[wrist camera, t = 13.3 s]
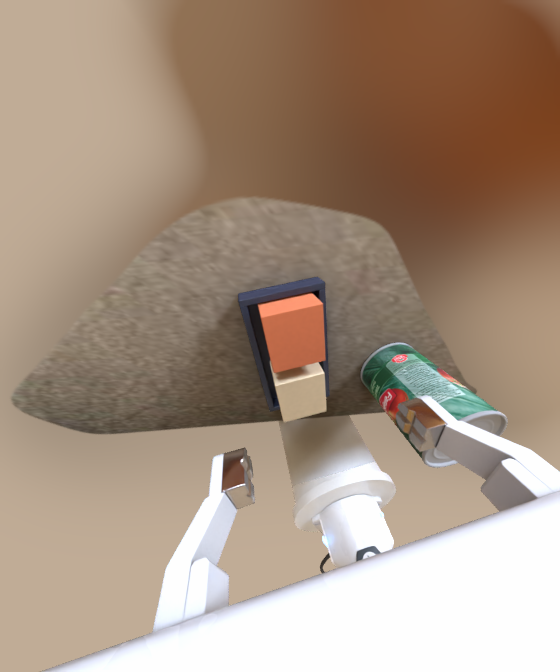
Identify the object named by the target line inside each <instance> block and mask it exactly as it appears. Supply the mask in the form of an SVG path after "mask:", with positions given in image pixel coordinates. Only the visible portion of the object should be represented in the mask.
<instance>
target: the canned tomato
mask: <svg viewBox="0 0 560 672" xmlns="http://www.w3.org/2000/svg"><path fill="white" fill-rule="evenodd" d="M361 381H362V382H363V384H364V385H365V386H366V387H367V388H368V390H369V391H370V393H371V394H372V395H373V396H374V398H375V399H376V400H377V401H378V403H379V404H380V405H381V407H382V408H383V409H384V410H385V412H386V413H387V414H388V416H389V417H390V418H391V420H393V422H394V423H395V425H396V426H397V427H398V428H399V430H400V432H401V433H402V434H403V435H404V436H405V438H406V439H407V440H408V441H409V443H410V444H411V445H412V447H413V448H414V449H415V450H416V452H417V453H418V454H419V456H420V457H421V458H422V460H423V461H424V463H425V464H426V465H428V466H430V467H437V468H438V467H446V466H450V465H453V464H456V463H458V462H457V461H455V460H453V459H452V458H450V457H449V456H447V455H445V454H444V453H442V452H441V451H439V450H437V449H436V448H432V449H429V450H425V451H421V452H419V451H418V449H417V448H416V447H415V446H414V444H413V443H412V442H411V441H410V439H409V434H407V433H405V432H403V431H402V429H401V428H400V427H399V425H398V423H397V421H396V413H397V412H398V411H399V409H398V408H397V407H398V404H399V403H401V402H404V401H408V400H411V399H414V398H418V397H421V396H425V395H428V396H430V397H431V398H432V399H434V400H435V401H436V402H437V403H438V404H439V405H440V406H442V407H443V408H444V409H445V410H446V411H447V412H448V413H449V414H451V415H452V416H453V417H454V418H455V419H456V420H457V421H463V422H466V423H468V424H470V425H473V426H475V427H477V428H480V429H482V430H485V431H487V432H489V433H492V434H494V435H496V436H499V437H500V435H501V434H502V433H503V432H504V430H505V429H506V426H507V418H506V416H505V415H504V414H502V413H500V412H498V411H497V410H496V409H494V408H493V407H491V406H490V405H489V404H487V403H486V402H485V401H484V400H483V399H481V398H479V397H478V396H477V395H475V394H474V393H473V392H471V391H470V390H469V389H467V388H466V387H465V386H463V385H462V384H460V383H459V382H458V381H457V380H455V379H454V378H452V377H451V376H450V375H448V374H447V373H446V372H445V371H443V370H441V369H440V368H439V367H438V366H436V365H434V364H433V363H432V362H431V361H429V360H428V359H427V358H425V357H424V356H422V355H421V354H420V353H418V352H417V351H415V350H414V349H413V348H412V347H411V346H409V345H408V344H405V343H392V344H389V345H386V346H384V347H381V348H380V349H378V350H376V351H375V352H374V353H373V354H371V355H370V357H369V358H368V359H367V360H366V361H365V363H364V365H363V367H362V369H361Z"/></svg>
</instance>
